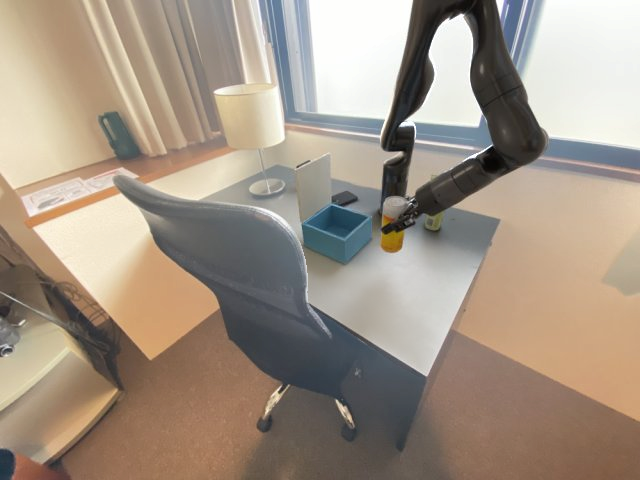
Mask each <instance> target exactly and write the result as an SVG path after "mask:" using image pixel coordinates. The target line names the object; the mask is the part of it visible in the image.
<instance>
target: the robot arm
mask: <svg viewBox="0 0 640 480" xmlns="http://www.w3.org/2000/svg"><path fill="white" fill-rule="evenodd" d="M458 18H462V20H463V21H464V23H465V25H466V26H467V28H468V30H469V34H470V39H471V52H470V61H469V62H470V63H469V71H468V77H469V78H468V79H469V80H468V81H469V87H470V89H471V93H472V95H473V97H474V99H475V101H476V104H477V106H478V108H479V111H480V112H481V114H482V116H483V119H485V122H486V126H487V130H488V133H489V137H490V140H491V143H492V144H491V145H489V146H488V147H487V148H485V149H484V150H482V151H480V152H478V153H475V154H473V155H471V156H469V157H467V158H465V159H463V160H462V161H461V162H459V163H457V164H456V165H454V166H453V167H451V168H449V169H447V170H446V171H443V172H442V173H440V174H437V175H438V176H437V177H435V178H434V179H432V180H431V179H430V180H429V181H427V182H426V183H424V184H422V185H420V187H418V188H417V189H416V190H415V193H414V195H413V196H412V197H410V195H407V191H408V182H409V175H410V168H411V163H412V159H413V153H414V148H415V142H416V137H417V135H416V134H417V129H416V125H415V123H414V122H413V121H407V120H408V119H409V118H410V117H412V116H413V115H414V114H416V113H417V112H418V111H419V110H420V109H422V107H423V106H424V105H425V103H426V102H427V100H428V98H429V96H430V94H431V91H432V89H433V87H434V84H435V81H436V77H437V71H436V70H437V69H436V65H435V62H434V59H433V57H432V53H431V49H432V46H433V42H434V39H435V37H436V34H437V33H438V30H439V29H440V27H442V25H444V24H447V23H449V22H451V21H454V20H456V19H458ZM408 21H409V23H408V27H407V34H406V39H405V45H404V49H403V53H402V56H401V62H400V66H399V68H398V72H397V76H396V79H395V83H394V87H393V92H392V97H391V100H390V104H389V108H388V112H387V114H386V117H385V120H384V122H383V125H382V127H381V131H380V136H379V145H380V148H381V150H382V151H383V152H385V153H397V154H395V155H394V156H392V157H389V158H387V159H386V160H385V161H384V162H383V163H382V173H381V187H380V199H379V211H378V212H379V213H380V215H381V216H382V215H383V204H384V202H385V200H386V198H388V197H390V196H400V197H403V198H405V199H406V200H407V204H408V205H407V206H406V208H405V209H404V210H403V211H402V212H401V213H399V214H398V215H397V216H398V217H397V218H395V219H394V220H393V221H391V222H390V223H388V224H386V225H385V226H383V227H382V226H381V227H382V228H381V227H380V232H381V231H382V232H383V233H384V234H385V235H387V234H389V233H390V232H392V231H395V232H396V233H398V232H400V231H403V230H405V231H406V230H407V229H409V228H411V227H413V226H415V225H416V223H417V222H416V221H415V220H418V219H420V218H421V217H422V215H423V214H424V215H426V216H427V215H429V216H435V215H437V214H438V213H440V212H442V211H444V210H445V211H446V210H448V209H450V208H452V207H454V206H455V205H458V204H459V203H461V202H462V201H464V200H465V199H466V198H468V197H471V196H472V195H474V194H476V193H477V192H479V191H481V190H483V189H485V188H486V187H488V186H490V185H491V184H493V183H494V182H495V181H497V180H498V179H500V178H502V177H505V176H506V175H508V174H510V173H512V172H514V171H516V170H518V169H520V168H522V167H526V166H528V165H531V164H532V163H534V162H536V161H537V160H539V159H540V158H541V157H542V156H543V155H544V154H545V153H546V151H547V149H548V147H549V145H550V136H549V134H548V132H547V130H546V129H545V128H543V127H542V126H541V125H540V123H539V122H538V120H537V118H536V115H535V113H534V112H533V110H532V107H531V106H530V104H529V96H528V92H527V89H526V87H525V85H524V82H523V81H522V78H521V76H520V73H519V72H518V69H517V67H516V65H515V62H514V60H513V58H512V55H511V53H510V50H509V47H508V45H507V41H506V37H505V34H504V30H503V25H502V20H501V16H500V11H499V7H498V3H497V0H412V2H411V8H410V15H409V20H408ZM445 211H444V212H445ZM402 215H404V217H402Z"/></svg>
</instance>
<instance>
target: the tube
mask: <svg viewBox="0 0 640 480" xmlns="http://www.w3.org/2000/svg"><path fill="white" fill-rule="evenodd" d="M438 175H439V174H432V173H431V174H430V180H432V179H434V178H435V177H437V176H438ZM445 211H446V210H444V211H442V212H440V213H438V214H437V215H435V216H429V215H427V214H426V217H425V223H424V228H425V229H427V230H429V231H438V230H440V227H441V223H442V221H443V217H444V214H445Z"/></svg>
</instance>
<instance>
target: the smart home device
mask: <svg viewBox="0 0 640 480" xmlns="http://www.w3.org/2000/svg"><path fill="white" fill-rule="evenodd" d="M331 199H332V202H331V203H330V204H335V205H338V206H341V207H345V206H348V205H349V204H352V203H356V202H358V200H359V196H358V195H356V194H354V193H352V192H350V191H349V190H344V191H342V192H339V193H336V194H334V195H331ZM327 206H328V205H327ZM324 208H325V207H324ZM321 210H322V209H321ZM318 212H319V211H318ZM318 212H317V213H318Z"/></svg>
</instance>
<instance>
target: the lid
mask: <svg viewBox="0 0 640 480" xmlns="http://www.w3.org/2000/svg"><path fill="white" fill-rule="evenodd" d="M331 168H332V167H331V152H326V153H324V154H323V155H320V156H319V157H316V158H314V159H312V160H310V159H308V160H306V161H304V162H302V163H300V164H298V165H296V166H295V168H294V179H295V180H294V181H295V188H296V199H297V208H298V213H299V214H298V215H299V223H301V224H302V223H303V222H305V221H306V220H307V219H309V218H310V217H312V216H313V215H315V214H316V213H317V212H318V211H320V210H321V209H323V208H324V207H326V206H327V205H329V204H330V203H331V202H332V199H331V196H332V169H331Z"/></svg>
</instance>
